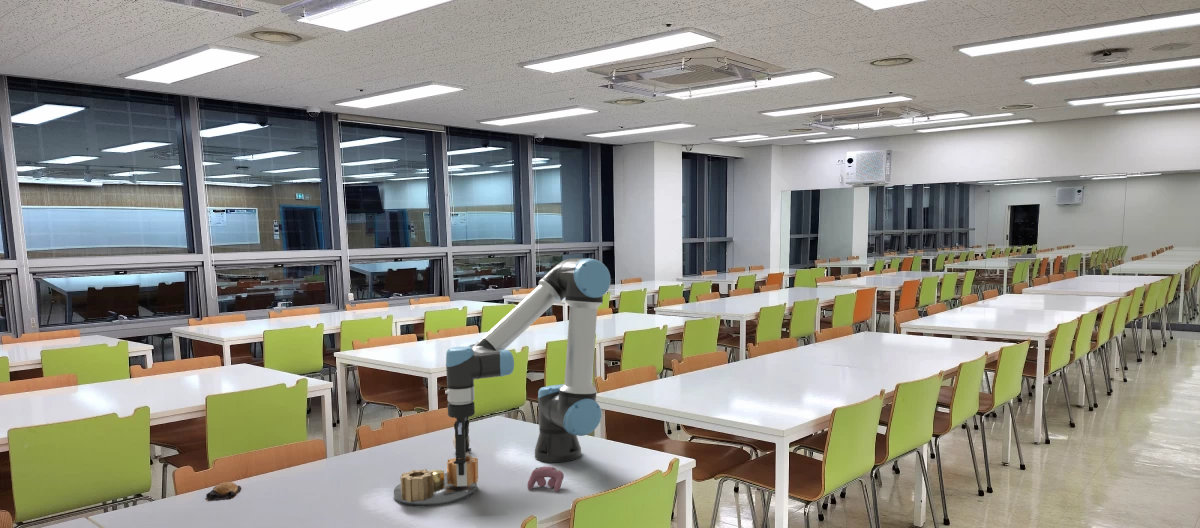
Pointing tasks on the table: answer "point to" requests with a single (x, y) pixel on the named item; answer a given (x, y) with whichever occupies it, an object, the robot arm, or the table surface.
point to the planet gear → (471, 471)
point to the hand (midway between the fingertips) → (463, 480)
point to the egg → (455, 441)
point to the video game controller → (546, 471)
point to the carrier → (429, 489)
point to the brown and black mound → (223, 492)
